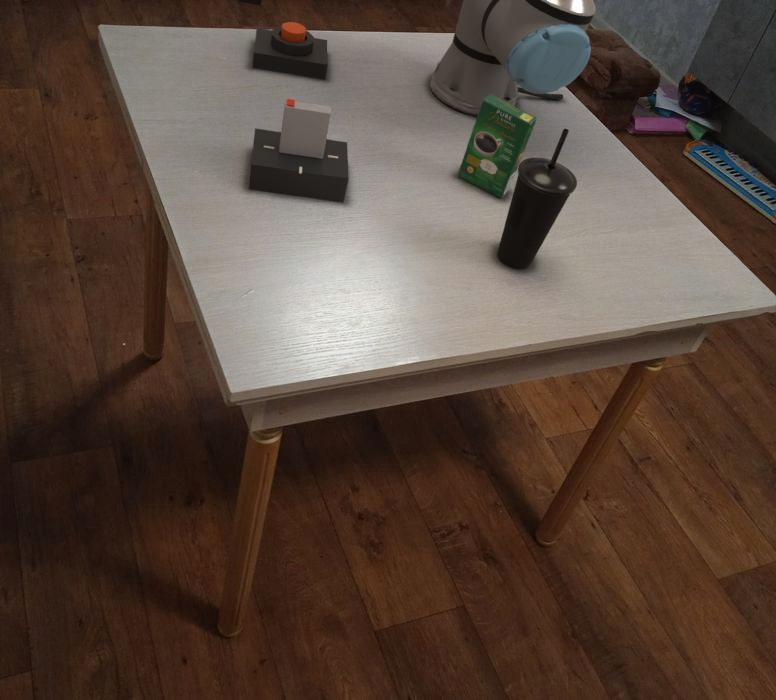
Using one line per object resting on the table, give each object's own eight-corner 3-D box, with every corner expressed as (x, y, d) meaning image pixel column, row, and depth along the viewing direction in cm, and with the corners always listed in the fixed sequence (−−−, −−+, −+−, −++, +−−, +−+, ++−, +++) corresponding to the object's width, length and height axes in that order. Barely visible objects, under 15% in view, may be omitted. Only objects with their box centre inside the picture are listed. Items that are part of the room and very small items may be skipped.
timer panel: (342, 163, 121) (347, 138, 118) (343, 205, 114) (348, 179, 111) (252, 150, 118) (255, 124, 115) (248, 191, 111) (251, 165, 108)
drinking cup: (539, 283, 110) (596, 154, 96) (484, 266, 110) (533, 136, 96) (542, 250, 116) (597, 124, 102) (490, 234, 116) (537, 106, 102)
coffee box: (510, 193, 125) (539, 115, 115) (502, 200, 123) (531, 122, 113) (465, 169, 127) (489, 91, 117) (456, 176, 125) (480, 98, 116)
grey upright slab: (322, 152, 114) (331, 105, 109) (322, 159, 113) (331, 112, 108) (279, 145, 113) (285, 97, 108) (278, 152, 112) (285, 104, 107)
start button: (305, 34, 138) (306, 24, 137) (304, 45, 135) (306, 35, 134) (281, 30, 137) (282, 20, 136) (280, 41, 135) (281, 30, 133)
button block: (324, 54, 144) (328, 29, 140) (325, 79, 137) (329, 54, 134) (255, 42, 141) (257, 17, 138) (252, 67, 135) (254, 41, 132)
